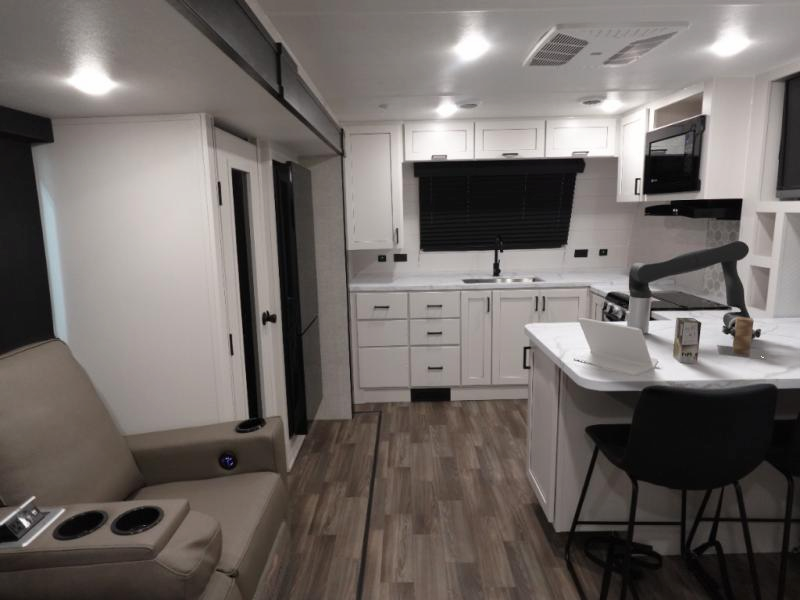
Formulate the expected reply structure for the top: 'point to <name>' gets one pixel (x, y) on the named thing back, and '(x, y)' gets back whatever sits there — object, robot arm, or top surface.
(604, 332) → the white laptop
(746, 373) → the top surface
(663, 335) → the top surface
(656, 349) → the top surface
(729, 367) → the top surface
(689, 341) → the coffee box
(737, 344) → the brown wooden block
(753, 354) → the tile
